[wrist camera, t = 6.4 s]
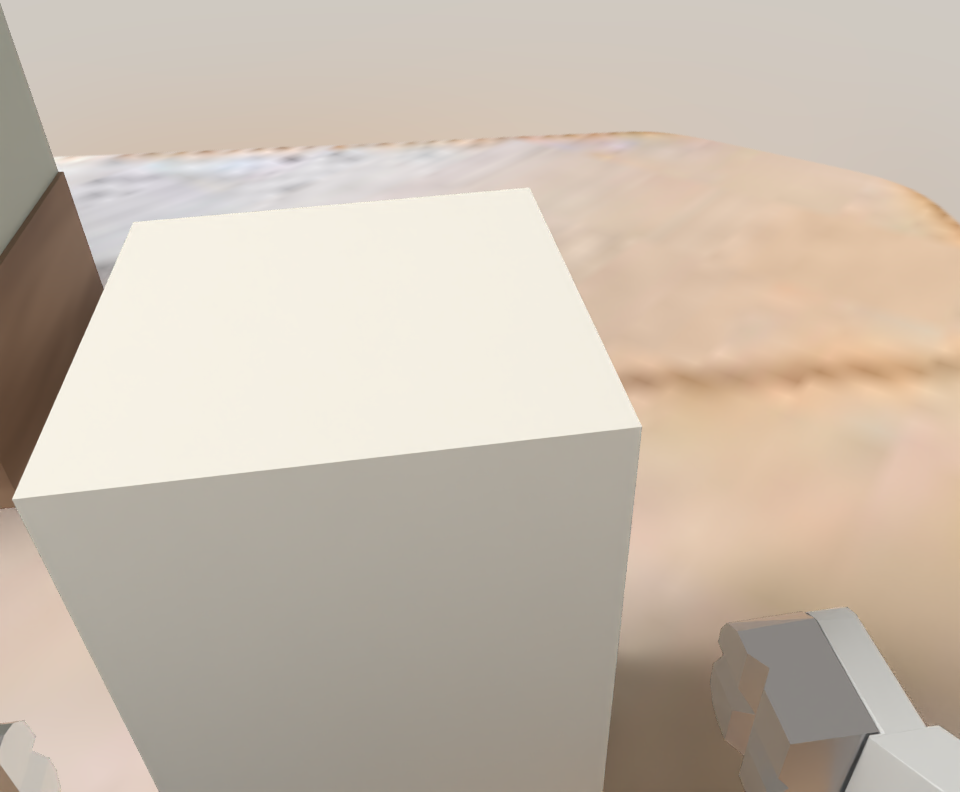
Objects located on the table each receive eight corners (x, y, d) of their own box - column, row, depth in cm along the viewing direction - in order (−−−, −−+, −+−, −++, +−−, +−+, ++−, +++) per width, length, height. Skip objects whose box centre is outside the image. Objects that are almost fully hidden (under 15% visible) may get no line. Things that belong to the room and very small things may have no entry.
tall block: (257, 988, 13) (11, 499, 6) (275, 694, 16) (134, 222, 10) (587, 931, 13) (642, 427, 7) (527, 659, 17) (529, 187, 11)
